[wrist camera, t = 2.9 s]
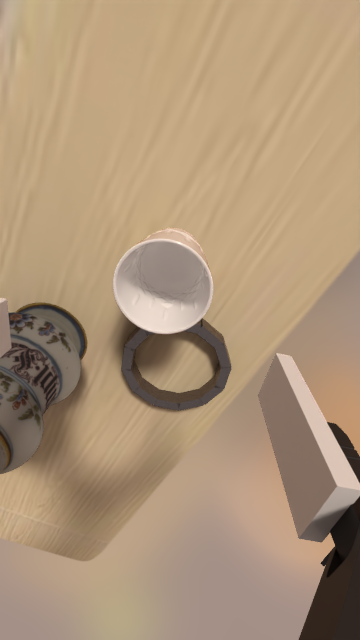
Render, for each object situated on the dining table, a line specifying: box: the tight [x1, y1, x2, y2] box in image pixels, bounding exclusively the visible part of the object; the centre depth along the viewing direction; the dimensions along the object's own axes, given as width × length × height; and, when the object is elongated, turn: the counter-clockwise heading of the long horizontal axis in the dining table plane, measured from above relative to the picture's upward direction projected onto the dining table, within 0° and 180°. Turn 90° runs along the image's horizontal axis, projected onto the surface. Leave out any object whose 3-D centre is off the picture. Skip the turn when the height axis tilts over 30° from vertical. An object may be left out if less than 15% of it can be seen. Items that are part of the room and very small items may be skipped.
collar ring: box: [121, 318, 231, 410], centre depth 36 cm, size 13×13×2 cm
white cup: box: [113, 228, 213, 334], centre depth 26 cm, size 8×8×10 cm
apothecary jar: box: [0, 303, 87, 474], centre depth 28 cm, size 12×12×18 cm
